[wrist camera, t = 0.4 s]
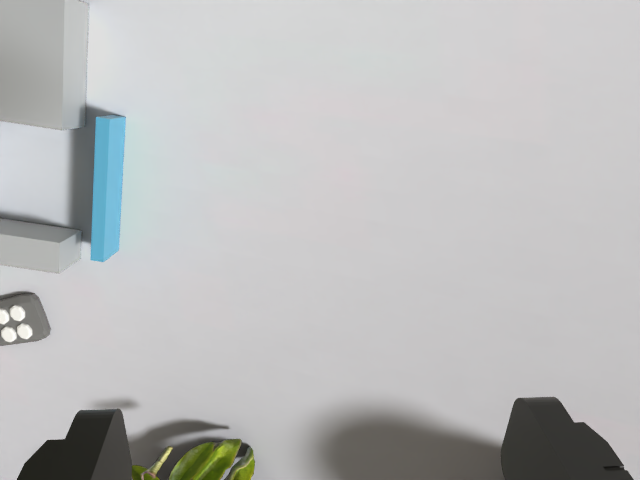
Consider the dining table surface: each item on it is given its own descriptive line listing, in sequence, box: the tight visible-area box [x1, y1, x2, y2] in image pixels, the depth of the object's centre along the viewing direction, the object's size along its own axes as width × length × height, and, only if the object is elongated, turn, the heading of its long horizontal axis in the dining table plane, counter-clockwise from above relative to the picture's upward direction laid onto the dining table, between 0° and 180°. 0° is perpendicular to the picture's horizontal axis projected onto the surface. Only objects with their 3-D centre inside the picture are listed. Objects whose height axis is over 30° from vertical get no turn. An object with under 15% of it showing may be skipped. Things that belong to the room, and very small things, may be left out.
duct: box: [0, 0, 126, 274], centre depth 31 cm, size 25×10×4 cm, turn 171°
